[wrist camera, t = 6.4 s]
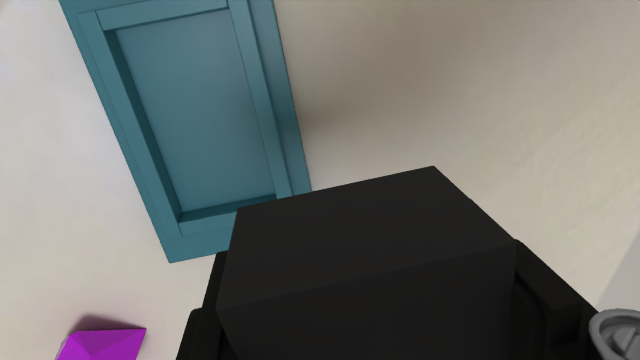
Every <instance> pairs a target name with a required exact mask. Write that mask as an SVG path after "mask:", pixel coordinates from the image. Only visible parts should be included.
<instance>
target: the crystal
mask: <svg viewBox="0 0 640 360" xmlns="http://www.w3.org/2000/svg"><path fill="white" fill-rule="evenodd" d="M145 331H146V329H125V330H99V331H76V332H74V333H73V334H72V335H70V336H69V337H68V338H66V339H65V340H64V341H63V342H62V343H61V346H60V348H59V351H58V353H57V355H56V358H55V360H136V358H137V355H138V352H139V349H140V346H141V343H142V340H143V337H144V334H145Z"/></svg>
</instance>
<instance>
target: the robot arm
mask: <svg viewBox="0 0 640 360" xmlns="http://www.w3.org/2000/svg"><path fill="white" fill-rule="evenodd" d="M469 199H470V198H469ZM470 200H471V199H470ZM471 201H472V200H471ZM474 203H475V202H474ZM475 204H476V203H475ZM476 205H477V204H476ZM477 206H478V205H477ZM478 207H479V206H478ZM479 208H480V207H479ZM480 209H481V208H480ZM481 210H482V209H481ZM482 211H483V210H482ZM483 212H484V211H483ZM484 213H485V212H484ZM487 215H488V214H487ZM488 216H489V215H488ZM489 217H490V216H489ZM490 218H491V217H490ZM491 219H492V218H491ZM492 220H493V219H492ZM493 221H494V220H493ZM494 222H495V221H494ZM495 223H496V222H495ZM496 224H497V223H496ZM497 225H498V224H497ZM500 227H501V226H500ZM501 228H502V227H501ZM502 229H503V228H502ZM503 230H504V229H503ZM504 231H505V230H504ZM505 232H506V231H505ZM506 233H507V232H506ZM507 234H508V233H507ZM508 235H509V234H508ZM509 236H510V235H509ZM510 237H511V236H510ZM511 238H512V237H511ZM513 239H514V238H513ZM514 240H515V243H516V250H515V276H514V287H513V288H512V295H511V324H510V353H509V360H640V312H639V311H636V310H630V309H609V310H604V311H602V312H598V311H597V310H596V309H595V308H594V307H593V306H592V305H590V304H589V303H588V302H587V301H586V300H585V299H584V298H583V297H582V296H581V295H579V294H578V293H577V292H576V291H575V290H574V289H573V288H572V287H571V286H569V285H568V284H567V283H566V282H565V281H564V280H563V279H562V278H561V277H560V276H558V275H557V274H556V273H555V272H554V271H553V270H552V269H551V268H550V267H549V266H547V265H546V264H545V263H544V262H543V261H542V260H541V259H540V258H539V257H538V256H536V255H535V254H534V253H533V252H532V251H531V250H530V249H529V248H528V247H526V246H525V245H524V244H523V243H522V242H520V241H519V240H517V239H514ZM227 253H228V250H225V251H221V252H217V254H216V257H215V261H214V264H213V268H212V272H211V275H210V279H209V283H208V286H207V290H206V294H205V297H204V301H203V305H202V308H197V309H194V310H193V311H191V313H190V315H189V318H188V321H187V325H186V328H185V331H184V334H183V338H182V341H181V344H180V347H179V351H178V354H177V357H176V360H236V358H235V355H234V353H233V350H232V349H231V346H230V344H229V341H228V339H227V336H226V334H225V331H224V329H223V326H222V323H221V321H220V318H219V316H218V313H217V311H216V308H215V307H216V302H217V298H218V293H219V289H220V284H221V280H222V275H223V271H224V266H225V262H226V258H227Z"/></svg>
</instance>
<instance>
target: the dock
mask: <svg viewBox="0 0 640 360" xmlns="http://www.w3.org/2000/svg"><path fill="white" fill-rule="evenodd" d="M59 3H60V5H61V7H62V10H63V12H64V14H65V17H66V19H67V22H68V24H69V26H70V29H71V31H72V33H73V36H74V38H75V41H76V43H77V45H78V48H79V50H80V52H81V55H82V57H83V60H84V62H85V64H86V67H87V69H88V71H89V74H90V76H91V79H92V81H93V83H94V86H95V88H96V90H97V93H98V95H99V98H100V100H101V102H102V105H103V107H104V109H105V112H106V114H107V117H108V119H109V121H110V124H111V126H112V128H113V131H114V133H115V136H116V138H117V140H118V143H119V145H120V148H121V150H122V152H123V155H124V157H125V159H126V162H127V164H128V167H129V169H130V171H131V174H132V176H133V178H134V181H135V183H136V186H137V188H138V190H139V193H140V195H141V197H142V200H143V202H144V205H145V207H146V209H147V212H148V214H149V216H150V219H151V221H152V224H153V226H154V228H155V231H156V233H157V235H158V238H159V240H160V243H161V245H162V247H163V250H164V252H165V254H166V257H167V259H168V262H169V263H174V262H179V261H184V260H189V259H193V258H198V257H203V256H208V255H213V254H217V252H221V251H225V250H228V249H229V244H230V240H231V235H232V231H233V226H234V222H235V217H236V213H237V209H238V208H239V207H243V206H248V205H253V204H257V203H262V202H266V201H271V200H276V199H280V198H285V197H290V196H294V195H299V194H304V193H308V192H312V190H311V185H310V180H309V175H308V171H307V166H306V161H305V156H304V151H303V146H302V141H301V136H300V132H299V127H298V122H297V117H296V112H295V107H294V102H293V97H292V93H291V88H290V83H289V78H288V73H287V68H286V63H285V58H284V54H283V49H282V44H281V39H280V34H279V29H278V24H277V19H276V15H275V10H274V5H273V0H59Z"/></svg>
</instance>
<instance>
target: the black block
mask: <svg viewBox="0 0 640 360" xmlns="http://www.w3.org/2000/svg"><path fill="white" fill-rule="evenodd" d="M515 250H516V243H515V240H514V239H513V238H511V237H510V236H509V235H508V234H507V233H506V232H505V231H504V230H503V229H502V228H501V227H500V226H499V225H497V224H496V223H495V222H494V221H493V220H492V219H491V218H490V217H489V216H488V215H487V214H486V213H484V212H483V211H482V210H481V209H480V208H479V207H478V206H477V205H476V204H475V203H474V202H473V201H471V200H470V199H469V198H468V197H467V196H466V195H465V194H464V193H463V192H462V191H461V190H460V189H458V188H457V187H456V186H455V185H454V184H453V183H452V182H451V181H450V180H449V179H448V178H447V177H446V176H444V175H443V174H442V173H441V172H440V171H439V170H438V169H437V168H436V167H435V166H429V167H424V168H420V169H415V170H410V171H406V172H401V173H396V174H392V175H387V176H383V177H378V178H373V179H369V180H364V181H359V182H355V183H350V184H345V185H341V186H336V187H331V188H327V189H322V190H318V191H313V192H308V193H304V194H299V195H294V196H290V197H285V198H280V199H276V200H271V201H266V202H262V203H257V204H253V205H248V206H243V207H239V208H238V209H237V213H236V217H235V222H234V226H233V231H232V235H231V240H230V244H229V249H228V253H227V258H226V262H225V266H224V271H223V275H222V280H221V284H220V289H219V293H218V298H217V302H216V307H215V308H216V311H217V313H218V316H219V318H220V321H221V323H222V326H223V329H224V331H225V334H226V336H227V339H228V341H229V344H230V346H231V349H232V350H233V353H234V355H235V358H236V360H509V353H510V324H511V295H512V288H513V287H514V276H515Z"/></svg>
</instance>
